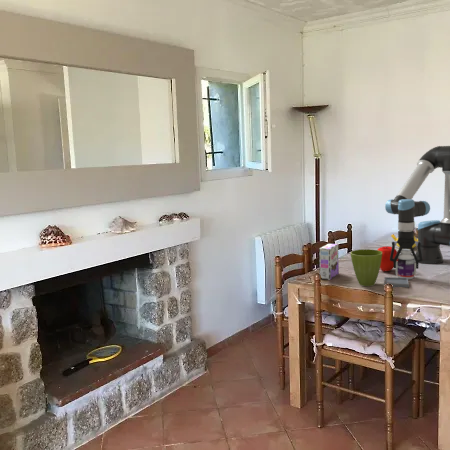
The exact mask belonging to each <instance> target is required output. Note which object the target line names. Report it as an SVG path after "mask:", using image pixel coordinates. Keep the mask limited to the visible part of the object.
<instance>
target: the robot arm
mask: <svg viewBox="0 0 450 450" xmlns="http://www.w3.org/2000/svg"><path fill="white" fill-rule="evenodd" d="M438 168H440V169H441V171H442V173H443V174H444V194H443V195H444V196H443V198H444V199H443V201H444V202H443V219H441V220H439V219H437V220H436V219H435V220H425V221H420V222H419V223H418V224H417V239H418V242H417V241H415V240H414V236H415V218H418V217H423V216H426V215H428V214H429V213H430V212H431V211H430V210H431V205H430V203H429V202H428V201H426V200H417V201H415V200H414V199H413V198H414V196H416V194H417V192H418V191H419V189H420V188H421V186H422V185H423V184H424V183H425V180H426V179H427V178H428V176H429V174H432V173H434V171H435V170H436V169H438ZM384 205H385V206H384V208H385V209H384V210H385V211H386V212H387V214H391V215H397V217H398V220H397V221H398V222H397V230H398V231H397V238H398V240H397V241H393V240H392V241H391V247H392V250H391V255H390V261H393V269H395V276H397V275H398V261H397V259H398V256H399V254H401V253H400V252H401V251H402V249H410V250H411V251H412V253H411V254H412V255H413V256H414V277H416V276H417V269H419V264H428V265H431V264H432V265H434V264H442V263H443V262H444V257H443V253H442V251H441V247H440V246H447V247H450V145H439V146H438V145H437V146H434V147H433V148H431V149H429V150H428V151H426V152H425V153H424V154H423V155H422V156H421V157H420V158H419V159H418V161H417V162H416V167H415V169H414V170H413V172H412V173H411V174H410V175H409V177H408V179H407V180H406V181H405V183H404V184H403V186H402V187H401V188H400V190H399V191H398V193H397V194H396V196H395V197H394V198H393V199H388V200H387V201H386V202H385V204H384ZM397 243H398V244H399V246H400V247H398V250H396V251H397V254H396V256H395V258H394V259H393V254H394V249H396V248H395V247H396V246H397V245H396V244H397ZM414 244H416V246H415V247H417V249H416V251H415V250H414V248H412V246H413V245H414Z"/></svg>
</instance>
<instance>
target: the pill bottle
mask: <svg viewBox="0 0 450 450" xmlns="http://www.w3.org/2000/svg"><path fill="white" fill-rule="evenodd" d="M397 262H398V275H396V276H397V278H408V280H412V279H414V278H415V276H414V262H415V261H414V256H413V254H412V251H411V250H410V249H402V251H401V252H400V254H399V256H398V261H397Z"/></svg>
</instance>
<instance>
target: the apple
mask: <svg viewBox="0 0 450 450" xmlns="http://www.w3.org/2000/svg"><path fill="white" fill-rule="evenodd" d="M377 250H378V251H381V252H382V259H381V265H380V270H381V271H382V272H389V271H392V270H393V269H394V267H393V261H390V255H391V250H392V246H381V247H378V248H377ZM397 251H398V250H397V249H396V248H395V249H394V254H393V259H394V258H395V256H396V254H397ZM397 262H398V259H397Z"/></svg>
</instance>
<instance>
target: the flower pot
mask: <svg viewBox="0 0 450 450" xmlns="http://www.w3.org/2000/svg"><path fill="white" fill-rule="evenodd" d="M350 258H351V263H352V267H353V271H354V274H355V278H356V280H357V282H358V285H360V286H362V287H372V286H374V285H376V283H377V282H376V281H377V280H378V276H379V274H380V270H381V269H380V265H381V259H382V252H381V251H378V249H377V250H376V249H369V248H368V249H355V250H351V252H350Z"/></svg>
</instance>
